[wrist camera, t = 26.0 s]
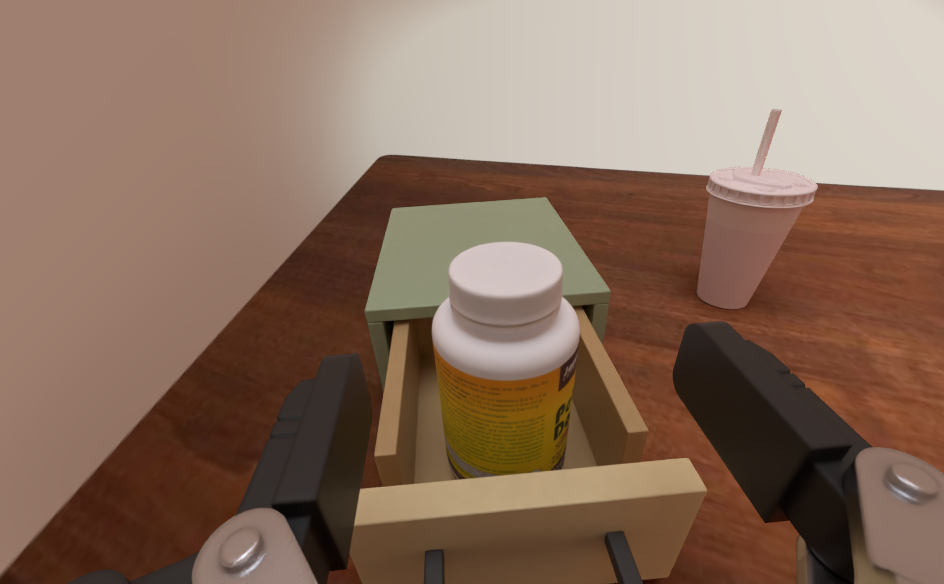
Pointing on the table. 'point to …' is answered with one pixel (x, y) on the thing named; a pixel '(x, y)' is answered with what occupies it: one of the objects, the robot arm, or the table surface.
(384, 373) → the cabinet
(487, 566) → the drawer
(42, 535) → the table surface
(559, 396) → the supplement bottle
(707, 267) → the smoothie
